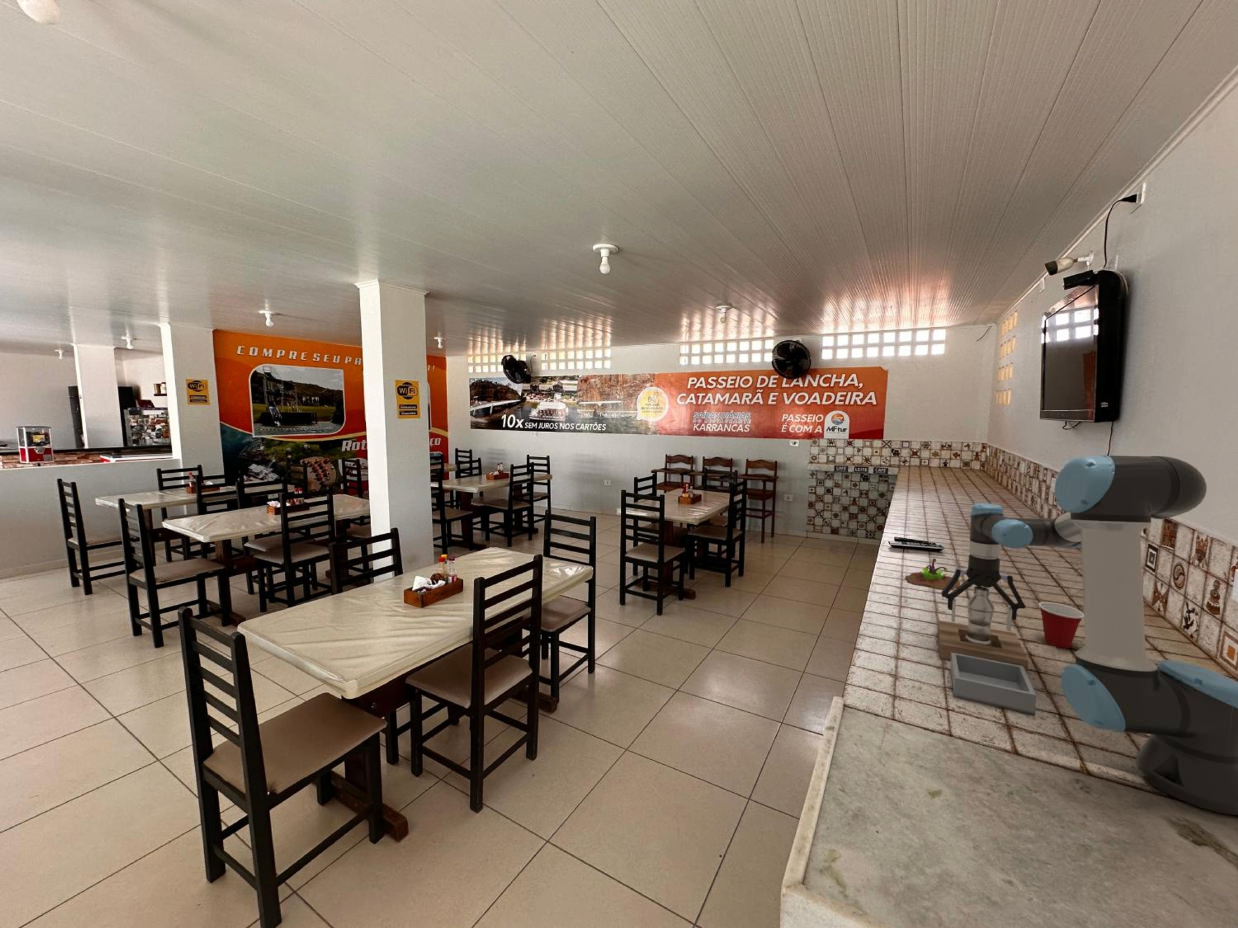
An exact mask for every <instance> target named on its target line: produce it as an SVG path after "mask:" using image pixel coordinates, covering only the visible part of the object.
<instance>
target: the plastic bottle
mask: <svg viewBox="0 0 1238 928" xmlns="http://www.w3.org/2000/svg"><path fill="white" fill-rule="evenodd" d="M972 593H973V595H972V596H971V597H970V598H969V599H968V601H967V603H966V604H967V605H966V606H967V613H968V618H967V619H968V622H967V623H968V624H967V625H968V629H967V635H966V637H965V641H964V642H968V643H973V644H979V645H984V646H990V647H992V645H991V640H990V639H991V638H990V629H991V626H992V619H993V615H994V612H995V605H994V603H993V602H992V600H991V599H990V598H989V597H990V588H986V587H983V586H982V587H978V586H976V585H974V586H973V591H972Z"/></svg>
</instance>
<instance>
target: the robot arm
mask: <svg viewBox="0 0 1238 928" xmlns="http://www.w3.org/2000/svg"><path fill="white" fill-rule="evenodd" d="M1054 483H1055V484H1054V498H1055V501H1056V502H1057V505H1058V506H1059V508H1060V509H1061V510H1063V511H1065V512H1066V513H1063V514H1061V515H1059V516H1056V517H1054V518H1038V517H1037V518H1036V517H1035V518H1033V517H1032V518H1031V517H1030V518H1029V517H1008V516H1005V514H1004V508H1003V507H1002V505H1000V504H995V503H994V504H993V503H985V502H983V503H982V502H980V503H974V504H973V505H972V506H971V512H970V513H971V514H970V515H969V516H970V530H969V548H968V552H969V554H968V559H967V560H968V561H967V563H968V564H967V569H961V568H960V567H955V570H954V574H953V575H952V576H951V577H952V578H951V579H950V581H949V582H948V584H947V585H946V586H945V588H944V589H943V590H941V592H940V593H941V597H942V598H946V599H947V609H948V610H949V611H951V617H950V619H951V622H953V623H956V606H957V600H956V598H957V597H958V596H961V594H962V593H964V592H965V591H966V590H968V588H971V587H972V586H973V585H974V586H978V587H985V588H988V589H990V588H993V589H994V590H995V591H996V592H997V593H998V594H999V596H1001V598H1003V599H1004V601H1005V602H1006V603H1007V604H1008V606H1007V609H1006V623H1005V625H1006V626H1005V629H1006V630H1007V632H1012V621H1013V620H1014V621H1016V620H1017V615H1018V610H1019V609H1022V610H1023V609H1026V605H1025V603H1024V601H1023V599H1022V597H1021V595H1020V594H1019V591H1018V590H1017V588H1016V586H1015V584H1014V577H1013V575H1012V574H1011V573H1006V574H1001V573H1000V565H1001V559H1000V557H1001V553H1002V552H1001V551H1002V550H1001V549H1002V548H1001V547H1002V546H1003V547H1006V548H1010V549H1015V550H1018V549H1019V550H1020V549H1022V548H1025V547H1052V548H1053V547H1054V548H1068V549H1071V548H1081V569H1082V571H1081V572H1082V597H1083V600H1082V602H1083V613H1084V618H1083V623H1084V624H1083V625H1084V627H1083V629H1084V646H1083V647H1081V648H1079V649H1078V650H1077V651H1075V654H1074V655H1075V663H1070V664H1068V665H1067V664H1066V665H1065V666H1064V667H1063V670H1061V672H1060V683H1061V687H1062V688H1061V689H1062V691H1063V694H1064V697H1065V699H1066V702H1067V703H1068V705H1070V707H1071V709H1072V710H1073V712H1074V713H1075V715H1077V716H1078V718H1079V719H1080V720H1082V721H1083V722H1084V723H1085V724H1087V725H1088V726H1091V727H1092V728H1096V729H1099V730H1106V731H1112V732H1114V733H1131V734H1132V733H1133V734H1144V735H1150V736H1149V737H1148V738H1147V740H1145V742H1144V744H1143V745H1142V747H1141V748H1140V749H1139V750H1138V752H1137V754H1136V765H1137V767H1138V769H1139V770H1140V771H1141V773H1143V774H1144V775H1142V777H1143V778H1144V779H1145V780H1146V781H1148V782H1149V783H1150V784H1152V785H1153V786H1155V787H1156V788H1158V789H1160V790H1161V791H1162V792H1164V793H1167V794H1168V795H1170V796H1172V797H1174V798H1176V799H1179V800H1181V801H1183V802H1185V803H1188V804H1191V805H1194V806H1196V807H1198V808H1202V809H1206V810H1209V811H1211V812H1215V813H1220V814H1226V815H1233V816H1238V681H1236V680H1234V679H1232V678H1230V677H1227V676H1226V675H1224V674H1221V673H1219V672H1215V671H1213V670H1210V669H1209V668H1205V667H1201V666H1197V665H1195V664H1191V663H1187V662H1184V661H1178V660H1171V659H1162V660H1160V661H1159V662H1158V664H1155V663H1154V662H1153V661H1152V660H1150V658H1149V657H1147V655H1146V638H1145V637H1146V633H1145V631H1146V630H1145V614H1144V612H1145V611H1144V608H1145V607H1144V606H1145V605H1144V586H1143V564H1142V543H1141V542H1142V541H1141V532H1142V531H1143V530H1145V529H1147V527H1149V526H1150V525H1152V519H1153V520H1166V519H1170V518H1173V517H1177V516H1179V515H1182V514H1185V513H1188V512H1190V511H1192V510H1193V509H1196V508H1197V507H1198V506H1199V505H1200V504H1201V503H1202V502H1203V501H1204V500H1205V497H1206V495H1207V481H1206V479H1205V477H1204V476H1203V474H1202V473H1201V471H1199V469H1198V468H1197V467H1195V466H1193V465H1192V464H1190V463H1189V462H1186V461H1184V460H1182V459H1180V458H1175V457H1171V456H1164V455H1149V456H1146V455H1145V456H1144V455H1143V456H1142V455H1107V454H1106V455H1103V454H1102V455H1101V454H1099V455H1089V456H1086V455H1085V456H1078V457H1075V458H1073V459H1071V460H1070V461H1068V462H1067V463H1065V465H1064V466H1063V468H1062V469H1060V471H1059V473H1058V474H1057V476H1056V480H1055V482H1054ZM964 575H966V576H967V579H966V580H965V581H964V582H963V583H960V586H959V587H958V588H955V589H954V590H951V589H952V588H953V586H954V585H955V583H956V582H957V581H958V580H959V579H960V578H962V577H963V576H964ZM1000 580H1003V582H1005V583H1007V585H1008V587H1009V589H1010V590H1011V592H1012V594H1013V596H1014V598H1015V600H1016V602H1014V600H1012V598H1011V597H1010V596H1009V595H1008V594H1007V593H1006V592H1005V590H1003V588H1002V587H1001V586H1000V585H999V583H998V582H999V581H1000ZM950 591H951V592H950Z"/></svg>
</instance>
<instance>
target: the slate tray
mask: <svg viewBox="0 0 1238 928" xmlns="http://www.w3.org/2000/svg"><path fill="white" fill-rule="evenodd" d="M949 669H950V670H949V671H950V678H951V684H952V691H953V697H955V698H958V699H962V700H967V701H972V702H976V703H979V704H980V703H981V704H985V705H989V706H992V707H997V708H1002V709H1005V710H1011V711H1015V712H1019V713H1023V714H1027V715H1033V716H1035V715H1036V704H1037V703H1036V702H1037V701H1036V700H1037V694H1036V692H1035V689H1034V687H1033V685H1032V683H1031V680H1030V678H1029V675H1028V672H1027V673H1026V671H1025V669H1024V667H1023V666H1019V665H1014V664H1009V663H1004V662H999V661H993V660H988V659H983V658H978V657H973V656H967V655H962V654H957V653H952V652H951V661H950V668H949Z"/></svg>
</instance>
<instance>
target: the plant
mask: <svg viewBox="0 0 1238 928" xmlns="http://www.w3.org/2000/svg"><path fill="white" fill-rule="evenodd" d="M936 562H937V559H936V558H934V557H933V558H932V562H931V565H930V564H928V565H927V566H926V567H922V571H921V570H919V571H917V572H911V573H910V574H909V575H905V577H904V580H905V581H906V583H908V584H910V585H913V586H917V587H924V588H929V589H934V590H938V591H942V590H943V589H944V588H945V586H946V585H947V584H948V582H949V581H950V579H951V578H952V577H953V576H949V575H948V573H947V572H948V571H949V569H948V568H947V567H944V566H939V567H935V563H936ZM941 569H943V570H944V571H943V570H941ZM943 572H945V573H943ZM942 573H943V574H942ZM960 585H961V581H960V580H959V579H958V581H957V582H956V583H955V585H954V586H953V588H952V589H951V590H950V591H954V590H955V589H956V588H958V587H959V586H960Z"/></svg>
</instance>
